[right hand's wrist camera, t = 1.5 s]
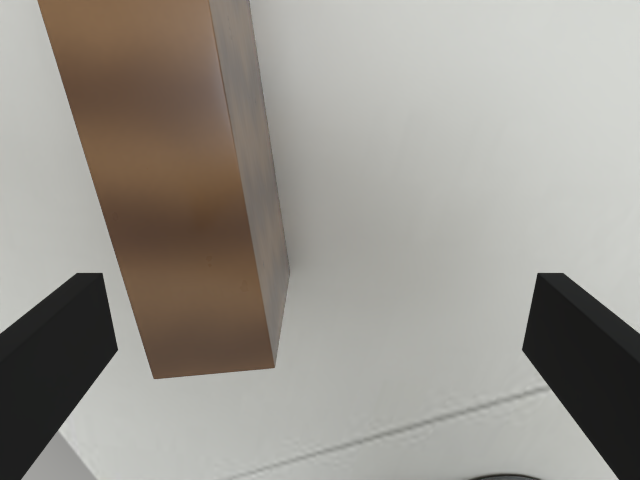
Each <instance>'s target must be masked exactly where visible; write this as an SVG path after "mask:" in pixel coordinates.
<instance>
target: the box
mask: <svg viewBox="0 0 640 480" xmlns="http://www.w3.org/2000/svg"><path fill="white" fill-rule="evenodd" d="M38 4H39V7H40V10H41V13H42V17H43V20H44V23H45V27H46V30H47V33H48V36H49V40H50V43H51V46H52V49H53V53H54V56H55V59H56V62H57V66H58V69H59V72H60V75H61V79H62V82H63V85H64V88H65V92H66V95H67V98H68V101H69V105H70V108H71V111H72V114H73V118H74V121H75V124H76V127H77V131H78V134H79V137H80V140H81V144H82V147H83V150H84V153H85V157H86V160H87V163H88V166H89V170H90V173H91V176H92V179H93V183H94V186H95V189H96V193H97V196H98V199H99V202H100V206H101V209H102V212H103V215H104V219H105V222H106V225H107V228H108V232H109V235H110V238H111V241H112V245H113V248H114V251H115V254H116V258H117V261H118V264H119V267H120V271H121V274H122V277H123V280H124V284H125V287H126V290H127V293H128V297H129V300H130V303H131V306H132V310H133V313H134V316H135V319H136V323H137V326H138V329H139V332H140V336H141V339H142V342H143V345H144V349H145V352H146V355H147V359H148V362H149V365H150V368H151V372H152V375H153V378H154V379H161V378H172V377H183V376H194V375H205V374H215V373H226V372H237V371H248V370H259V369H269V368H275V364H276V357H277V351H278V345H279V338H280V332H281V326H282V319H283V313H284V307H285V300H286V294H287V288H288V281H289V275H290V270H289V263H288V256H287V250H286V243H285V236H284V230H283V223H282V217H281V210H280V203H279V197H278V190H277V183H276V177H275V170H274V163H273V157H272V150H271V144H270V137H269V130H268V124H267V117H266V110H265V104H264V97H263V90H262V84H261V77H260V71H259V64H258V57H257V51H256V44H255V37H254V31H253V24H252V17H251V11H250V4H249V0H38Z"/></svg>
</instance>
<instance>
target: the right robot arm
mask: <svg viewBox="0 0 640 480" xmlns="http://www.w3.org/2000/svg"><path fill="white" fill-rule="evenodd" d="M117 351H118V348H117V343H116V338H115V333H114V328H113V323H112V318H111V313H110V308H109V303H108V298H107V294H106V289H105V284H104V279H103V274H102V273H76V274H75V275H74V276H73V277H71V278H70V279H69V280H68V281H66V282H65V283H64V284H63V285H61V286H60V287H59V288H57V289H56V290H55V291H54V292H52V293H51V294H50V295H49V296H47V297H46V298H45V299H44V300H42V301H41V302H40V303H39V304H37V305H36V306H35V307H34V308H32V309H31V310H30V311H28V312H27V313H26V314H25V315H23V316H22V317H21V318H20V319H18V320H17V321H16V322H15V323H13V324H12V325H11V326H10V327H8V328H7V329H6V330H5V331H3V332H2V333H1V334H0V480H21V479H22V478H23V476H24V475H25V474H26V472H27V471H28V469H29V468H30V467H31V465H32V464H33V463H34V461H35V460H36V459H37V457H38V456H39V455H40V453H41V452H42V451H43V449H44V448H45V447H46V445H47V444H48V443H49V441H50V440H51V439H52V437H53V436H54V435H55V433H56V432H57V431H58V429H59V428H60V427H61V425H62V424H63V423H64V421H65V420H66V419H67V417H68V416H69V415H70V413H71V412H72V411H73V409H74V408H75V407H76V405H77V404H78V403H79V401H80V400H81V399H82V397H83V396H84V395H85V393H86V392H87V391H88V389H89V388H90V387H91V385H92V384H93V383H94V381H95V380H96V379H97V377H98V376H99V375H100V373H101V372H102V371H103V369H104V368H105V367H106V365H107V364H108V363H109V361H110V360H111V359H112V357H113V356H114V355H115V353H116V352H117ZM522 351H523V352H524V353H525V355H526V356H527V357H528V359H529V360H530V361H531V363H532V364H533V365H534V367H535V368H536V369H537V371H538V372H539V373H540V375H541V376H542V377H543V379H544V380H545V381H546V383H547V384H548V385H549V387H550V388H551V389H552V391H553V392H554V393H555V395H556V396H557V397H558V399H559V400H560V401H561V403H562V404H563V405H564V407H565V408H566V409H567V411H568V412H569V413H570V415H571V416H572V417H573V419H574V420H575V421H576V423H577V424H578V425H579V427H580V428H581V429H582V431H583V432H584V433H585V435H586V436H587V437H588V439H589V440H590V441H591V443H592V444H593V445H594V447H595V448H596V449H597V451H598V452H599V453H600V455H601V456H602V457H603V459H604V460H605V461H606V463H607V464H608V465H609V467H610V468H611V470H612V471H613V472H614V474H615V475H616V476H617V478H618V479H619V480H640V334H639V333H638V332H637V331H635V330H634V329H633V328H632V327H630V326H629V325H628V324H627V323H625V322H624V321H623V320H622V319H620V318H619V317H618V316H617V315H615V314H614V313H613V312H612V311H610V310H609V309H608V308H606V307H605V306H604V305H603V304H601V303H600V302H599V301H598V300H596V299H595V298H594V297H593V296H591V295H590V294H589V293H588V292H586V291H585V290H584V289H583V288H581V287H580V286H579V285H577V284H576V283H575V282H574V281H572V280H571V279H570V278H569V277H567V276H566V275H565V274H564V273H538V274H537V279H536V284H535V289H534V294H533V298H532V303H531V308H530V313H529V318H528V323H527V328H526V333H525V338H524V343H523V348H522ZM480 480H535V479H531V478H526V477H519V476H498V477H490V478H484V479H480Z"/></svg>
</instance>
